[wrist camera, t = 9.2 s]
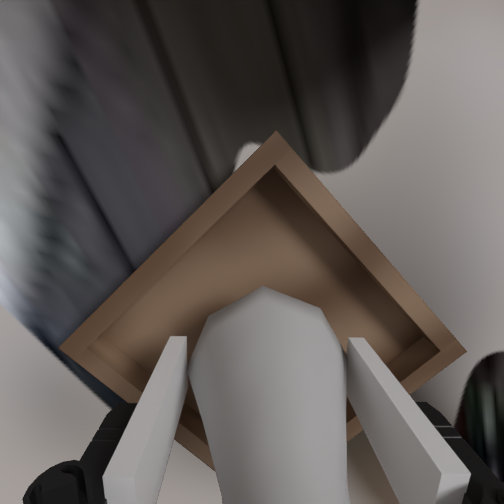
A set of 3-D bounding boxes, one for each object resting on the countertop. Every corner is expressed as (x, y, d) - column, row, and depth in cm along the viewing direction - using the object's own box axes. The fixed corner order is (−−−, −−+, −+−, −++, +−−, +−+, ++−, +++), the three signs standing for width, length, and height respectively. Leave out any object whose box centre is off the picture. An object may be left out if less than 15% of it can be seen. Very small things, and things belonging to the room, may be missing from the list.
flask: (161, 366, 14) (-41, 808, 4) (261, 256, 13) (320, 498, 3) (271, 444, 15) (324, 926, 5) (371, 350, 14) (673, 742, 4)
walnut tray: (435, 328, 17) (466, 351, 15) (258, 467, 20) (260, 507, 17) (271, 139, 15) (276, 130, 12) (85, 324, 17) (58, 347, 14)
